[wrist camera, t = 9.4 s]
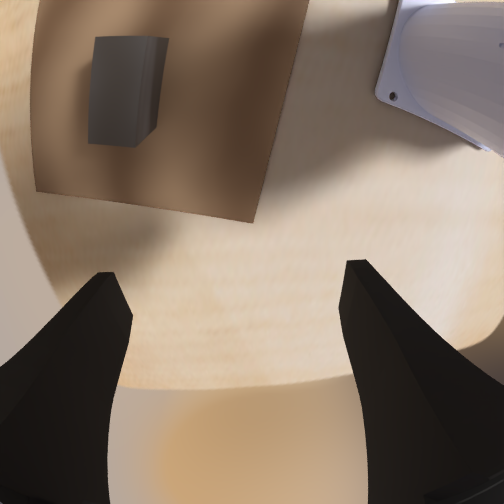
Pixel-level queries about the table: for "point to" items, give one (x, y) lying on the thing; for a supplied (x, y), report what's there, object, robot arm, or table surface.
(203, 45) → the lid
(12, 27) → the table surface
